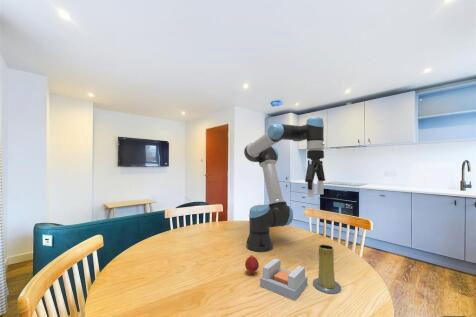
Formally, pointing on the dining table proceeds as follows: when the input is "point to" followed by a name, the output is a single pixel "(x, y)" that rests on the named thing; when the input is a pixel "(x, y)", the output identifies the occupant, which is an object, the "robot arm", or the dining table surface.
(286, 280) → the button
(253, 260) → the onion
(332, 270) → the vase
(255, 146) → the robot arm
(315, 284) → the coaster
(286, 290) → the grey cradle holder
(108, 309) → the dining table surface
